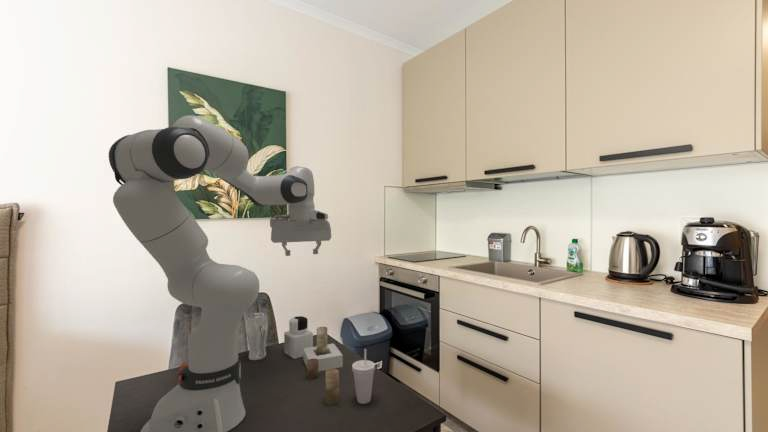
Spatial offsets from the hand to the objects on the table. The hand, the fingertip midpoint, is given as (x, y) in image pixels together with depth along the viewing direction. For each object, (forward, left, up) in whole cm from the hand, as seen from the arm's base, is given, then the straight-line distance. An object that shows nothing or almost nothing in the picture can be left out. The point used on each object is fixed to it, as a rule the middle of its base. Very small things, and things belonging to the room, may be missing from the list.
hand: (301, 254), depth 115 cm
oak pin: (+3, -28, -37) cm, 47 cm away
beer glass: (-14, +11, -37) cm, 41 cm away
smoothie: (+11, -31, -37) cm, 50 cm away
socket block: (+6, -4, -37) cm, 38 cm away
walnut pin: (+1, -12, -37) cm, 39 cm away
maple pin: (+6, -4, -37) cm, 38 cm away
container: (0, +8, -37) cm, 38 cm away
